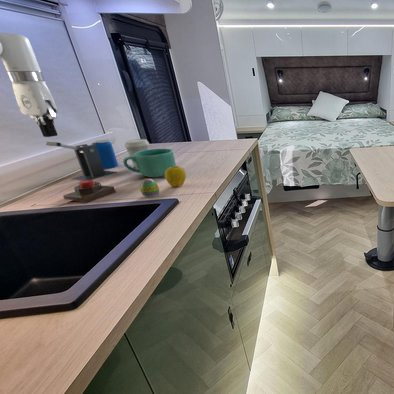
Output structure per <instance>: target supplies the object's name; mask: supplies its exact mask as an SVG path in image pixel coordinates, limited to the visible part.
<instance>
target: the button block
mask: <svg viewBox="0 0 394 394" xmlns="http://www.w3.org/2000/svg"><path fill="white" fill-rule="evenodd" d="M94 184H95V185H94V186H91V187H86V188H80V186H79V184H77V185H76V186H74V187H73V190H74V191H72V192H69V193H66V194H63V195H62V196H63V199H64V200H70V201H68V203H74V204H75V203H76V204H84V205H85V204H88V203H90V202H93V201H96V200H98V199H101V198H104V197H108V196H110V195H112V194H115V193H116V192H117V191H116V189H115V186H112V185H103V184H102V183H101V182H99V181H94Z"/></svg>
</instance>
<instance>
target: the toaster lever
mask: <svg viewBox="0 0 394 394" xmlns="http://www.w3.org/2000/svg"><path fill="white" fill-rule="evenodd" d="M45 145H46V146H48V147H49V146H50V147H59V148H65V149H70V150H79V153H83V151H82V149H81V147H83V146H80V148H79V147H74V146H75V145H68V144H65V143H64V144H63V143H61V142H58V141H46V143H45Z"/></svg>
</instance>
